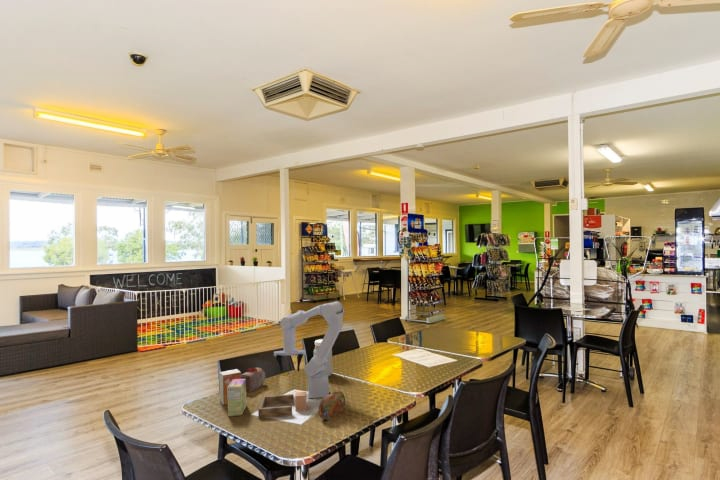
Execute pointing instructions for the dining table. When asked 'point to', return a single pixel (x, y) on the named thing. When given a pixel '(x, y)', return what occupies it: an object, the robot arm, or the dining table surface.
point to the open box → (275, 411)
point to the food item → (253, 378)
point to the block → (300, 401)
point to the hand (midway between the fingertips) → (290, 370)
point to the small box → (227, 383)
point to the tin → (331, 405)
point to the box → (236, 397)
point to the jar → (329, 363)
